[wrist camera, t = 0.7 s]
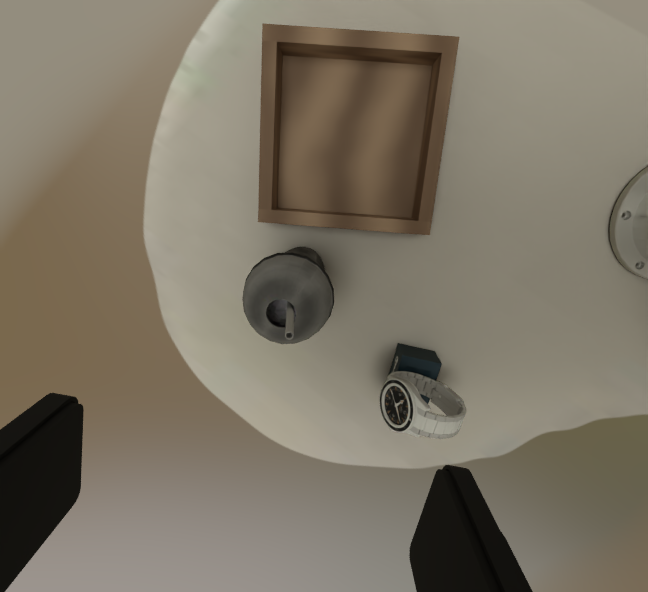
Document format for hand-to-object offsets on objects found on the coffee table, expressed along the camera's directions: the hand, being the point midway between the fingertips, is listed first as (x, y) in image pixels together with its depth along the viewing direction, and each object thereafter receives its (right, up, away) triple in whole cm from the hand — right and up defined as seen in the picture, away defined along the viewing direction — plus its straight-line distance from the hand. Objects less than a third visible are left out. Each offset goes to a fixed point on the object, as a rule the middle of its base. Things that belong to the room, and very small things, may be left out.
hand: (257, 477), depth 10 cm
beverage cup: (-1, +8, +32) cm, 33 cm away
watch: (+12, -4, +34) cm, 36 cm away
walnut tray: (+4, +20, +28) cm, 34 cm away
